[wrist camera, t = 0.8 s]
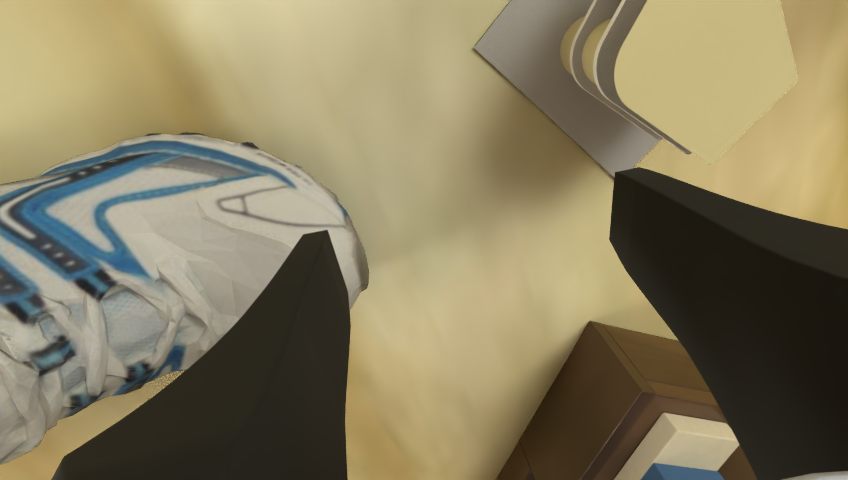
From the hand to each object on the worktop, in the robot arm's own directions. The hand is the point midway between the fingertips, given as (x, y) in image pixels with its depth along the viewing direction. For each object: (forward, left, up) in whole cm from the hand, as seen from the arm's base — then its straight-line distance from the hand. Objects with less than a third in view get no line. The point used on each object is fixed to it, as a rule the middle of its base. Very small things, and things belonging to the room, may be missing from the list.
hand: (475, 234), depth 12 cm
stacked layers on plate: (+6, -7, -11) cm, 14 cm away
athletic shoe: (-10, +12, -11) cm, 19 cm away
